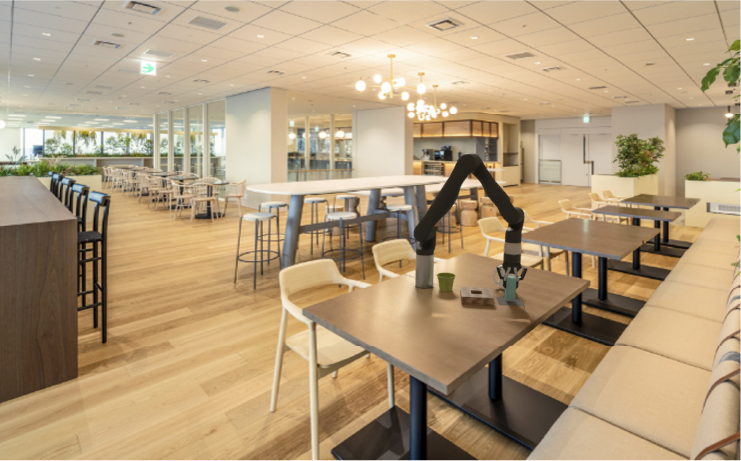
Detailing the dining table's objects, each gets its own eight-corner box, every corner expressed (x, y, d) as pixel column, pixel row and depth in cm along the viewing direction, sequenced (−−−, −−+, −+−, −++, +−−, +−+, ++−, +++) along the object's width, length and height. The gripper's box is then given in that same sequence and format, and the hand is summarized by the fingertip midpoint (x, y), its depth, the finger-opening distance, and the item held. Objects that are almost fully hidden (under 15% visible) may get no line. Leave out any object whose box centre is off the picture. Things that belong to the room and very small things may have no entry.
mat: (498, 306, 180) (498, 304, 179) (495, 298, 190) (495, 296, 190) (524, 308, 178) (524, 306, 177) (520, 299, 188) (520, 297, 188)
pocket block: (461, 305, 181) (461, 296, 180) (460, 295, 195) (460, 286, 194) (493, 307, 179) (493, 298, 178) (490, 297, 192) (490, 288, 191)
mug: (508, 286, 207) (509, 264, 205) (514, 291, 201) (515, 267, 199) (489, 287, 206) (490, 265, 204) (494, 291, 200) (495, 268, 198)
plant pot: (455, 295, 195) (455, 278, 194) (435, 294, 197) (436, 277, 196) (455, 289, 204) (455, 272, 203) (436, 288, 206) (436, 272, 205)
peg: (505, 299, 182) (507, 278, 180) (504, 296, 186) (505, 275, 184) (515, 299, 181) (516, 278, 179) (513, 296, 185) (514, 276, 183)
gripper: (497, 253, 177) (495, 290, 180) (530, 254, 175) (528, 291, 178) (495, 249, 185) (493, 285, 188) (527, 250, 182) (525, 286, 185)
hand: (510, 288), depth 183 cm, fingers closed on peg, 4 cm apart
